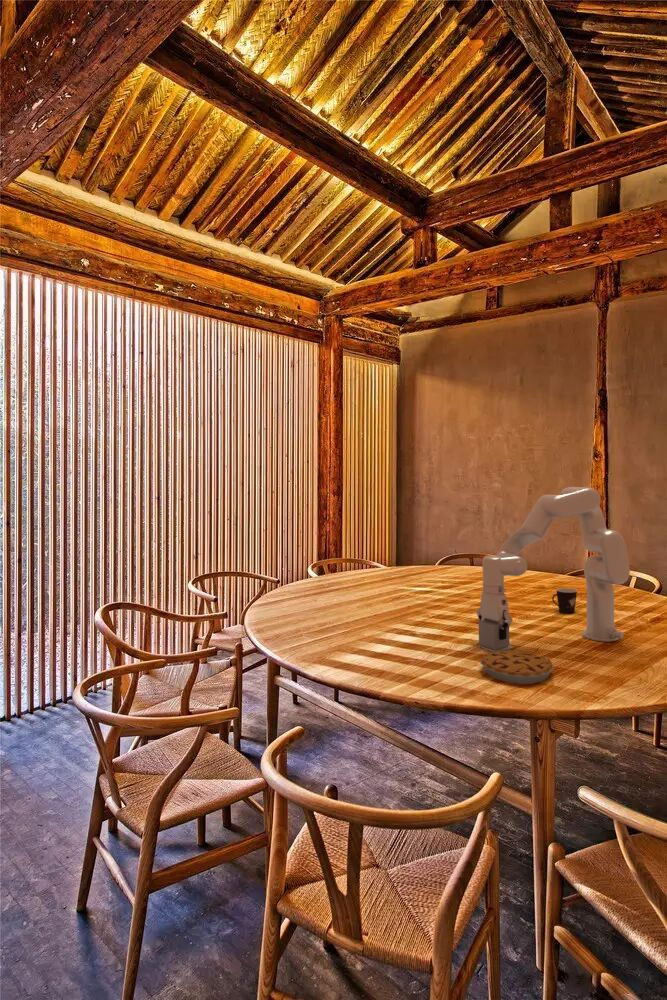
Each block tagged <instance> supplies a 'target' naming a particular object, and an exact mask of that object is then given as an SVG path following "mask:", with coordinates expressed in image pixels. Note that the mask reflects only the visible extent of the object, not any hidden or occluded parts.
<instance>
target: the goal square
mask: <svg viewBox="0 0 667 1000" xmlns="http://www.w3.org/2000/svg"><path fill="white" fill-rule="evenodd" d="M478 644H479V643H477V645H478ZM474 645H475V646H474V647H477V646H476V644H474ZM480 647H481V649H483V648H484V649H483V650H486V651H488V650H489V652H490V653H495V651H506V650H511V649H513V648H514V647H515V646H512V645H510V646H507V647H503V648H500V649H497V650H494V649H491V648H488V647H485V646H482V645H479V646H478V648H480Z"/></svg>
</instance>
